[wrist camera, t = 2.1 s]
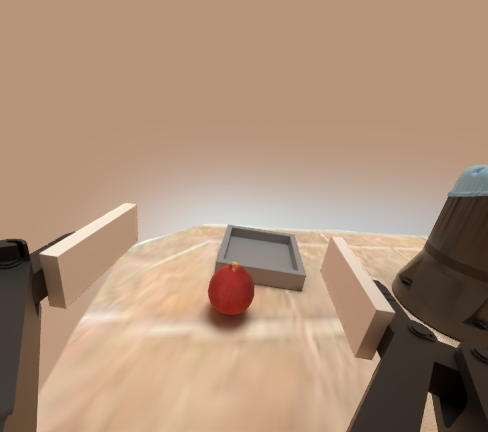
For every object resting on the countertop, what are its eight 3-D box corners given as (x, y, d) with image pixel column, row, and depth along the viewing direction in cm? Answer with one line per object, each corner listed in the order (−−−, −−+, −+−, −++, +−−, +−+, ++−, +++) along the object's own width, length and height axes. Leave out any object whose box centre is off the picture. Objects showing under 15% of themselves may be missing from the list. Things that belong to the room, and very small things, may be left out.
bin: (226, 237, 51) (228, 224, 49) (291, 247, 50) (294, 234, 49) (214, 277, 38) (216, 261, 37) (301, 291, 37) (305, 275, 36)
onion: (219, 291, 35) (225, 244, 32) (255, 306, 33) (265, 257, 30) (197, 318, 30) (202, 265, 27) (239, 337, 28) (249, 283, 25)
